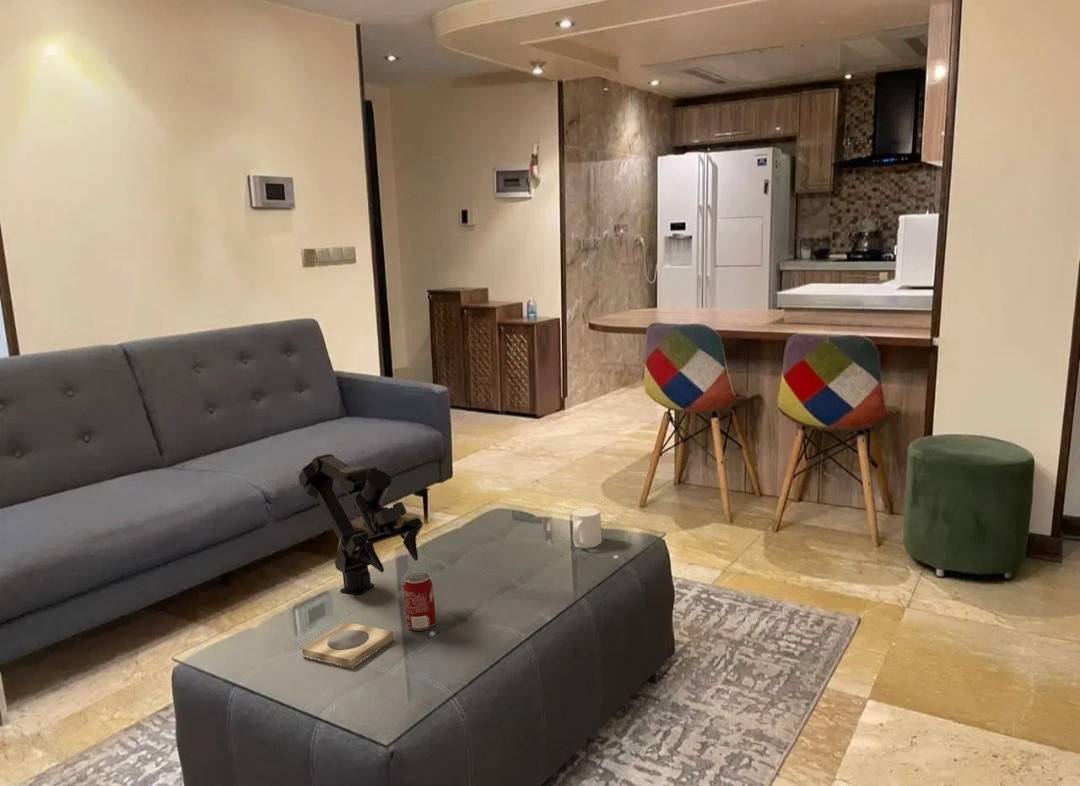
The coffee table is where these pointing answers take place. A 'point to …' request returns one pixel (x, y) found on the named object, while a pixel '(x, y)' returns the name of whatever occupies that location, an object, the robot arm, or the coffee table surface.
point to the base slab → (348, 644)
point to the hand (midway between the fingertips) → (400, 565)
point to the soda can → (419, 602)
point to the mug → (586, 527)
